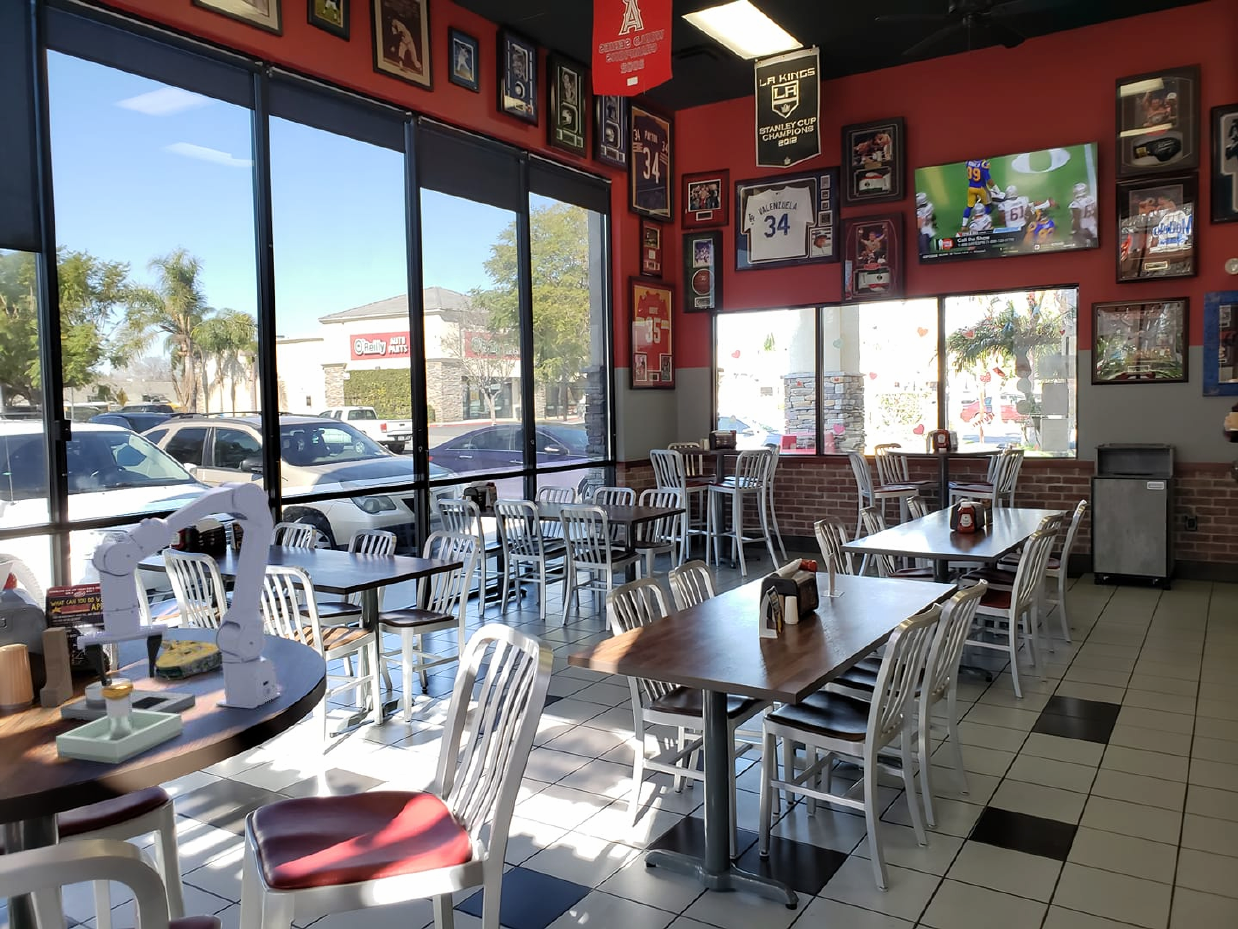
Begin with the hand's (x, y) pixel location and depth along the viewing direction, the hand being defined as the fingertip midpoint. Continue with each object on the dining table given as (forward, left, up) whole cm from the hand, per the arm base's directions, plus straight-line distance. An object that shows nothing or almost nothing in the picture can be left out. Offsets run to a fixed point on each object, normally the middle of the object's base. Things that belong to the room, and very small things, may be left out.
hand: (128, 680), depth 168 cm
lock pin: (-1, +3, -9) cm, 10 cm away
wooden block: (+33, -11, -11) cm, 36 cm away
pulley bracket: (+12, -10, -10) cm, 19 cm away
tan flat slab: (+26, -38, -11) cm, 47 cm away
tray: (-2, +4, -10) cm, 11 cm away
